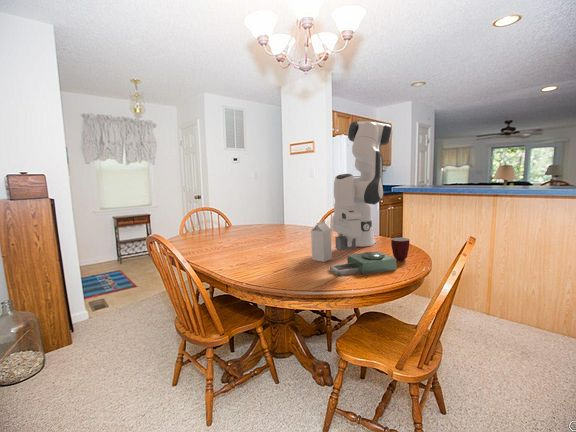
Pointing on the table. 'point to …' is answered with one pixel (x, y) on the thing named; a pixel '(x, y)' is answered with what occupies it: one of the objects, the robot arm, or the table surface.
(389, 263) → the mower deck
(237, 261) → the table surface
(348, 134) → the robot arm
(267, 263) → the table surface
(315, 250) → the milk carton
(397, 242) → the mug
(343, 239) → the grey rectangular block
